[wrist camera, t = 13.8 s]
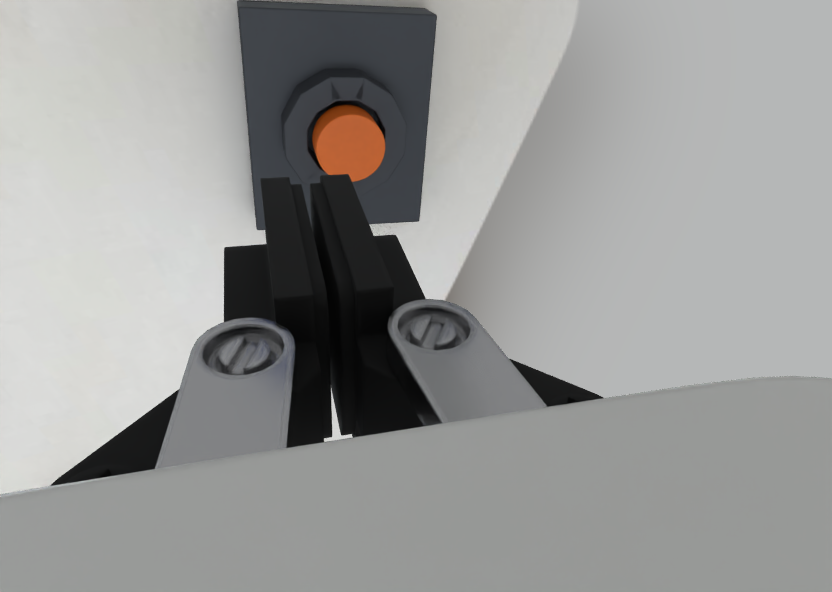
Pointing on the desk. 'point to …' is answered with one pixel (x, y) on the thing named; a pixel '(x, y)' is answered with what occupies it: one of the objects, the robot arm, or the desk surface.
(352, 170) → the button
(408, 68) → the control block
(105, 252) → the desk surface
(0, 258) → the desk surface
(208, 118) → the desk surface
